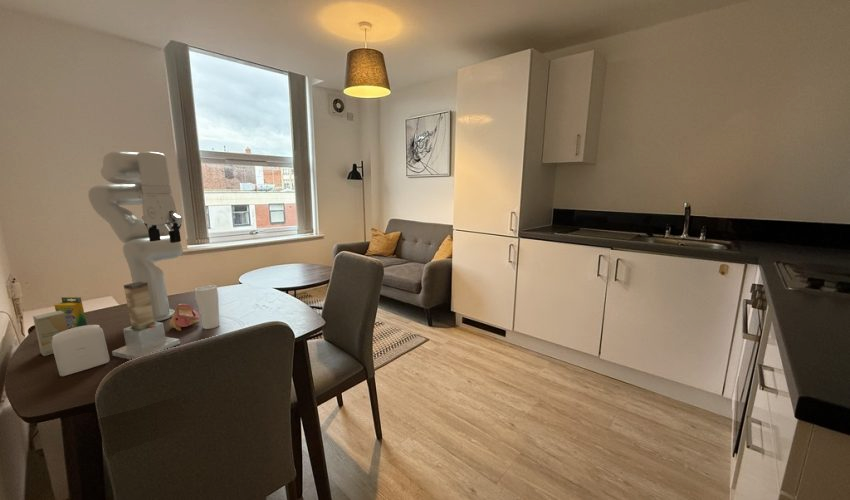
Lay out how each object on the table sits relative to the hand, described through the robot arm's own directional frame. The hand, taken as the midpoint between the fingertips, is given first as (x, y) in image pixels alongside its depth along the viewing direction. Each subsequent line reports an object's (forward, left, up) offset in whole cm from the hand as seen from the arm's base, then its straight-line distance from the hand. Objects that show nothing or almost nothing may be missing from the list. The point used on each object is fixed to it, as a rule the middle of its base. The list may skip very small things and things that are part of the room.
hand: (165, 241), depth 113 cm
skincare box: (-22, -23, -32) cm, 45 cm away
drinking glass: (+9, +5, -32) cm, 34 cm away
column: (+5, -14, -25) cm, 29 cm away
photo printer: (0, -27, -32) cm, 42 cm away
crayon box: (-38, -11, -32) cm, 51 cm away
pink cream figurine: (0, +3, -33) cm, 33 cm away
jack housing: (+5, -14, -32) cm, 35 cm away
